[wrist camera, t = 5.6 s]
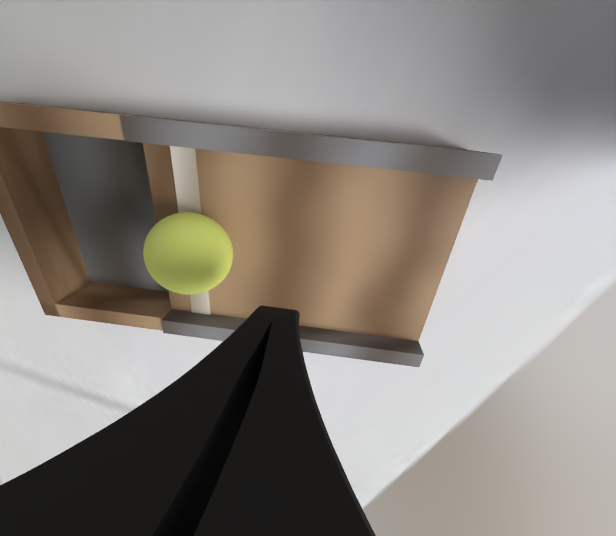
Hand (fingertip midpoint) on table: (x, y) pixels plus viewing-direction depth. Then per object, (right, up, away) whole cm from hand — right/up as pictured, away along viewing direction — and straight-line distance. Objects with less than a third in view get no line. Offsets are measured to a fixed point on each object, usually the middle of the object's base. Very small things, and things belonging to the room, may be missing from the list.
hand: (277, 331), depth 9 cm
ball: (-5, +3, +4) cm, 7 cm away
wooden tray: (-3, +4, +8) cm, 9 cm away
